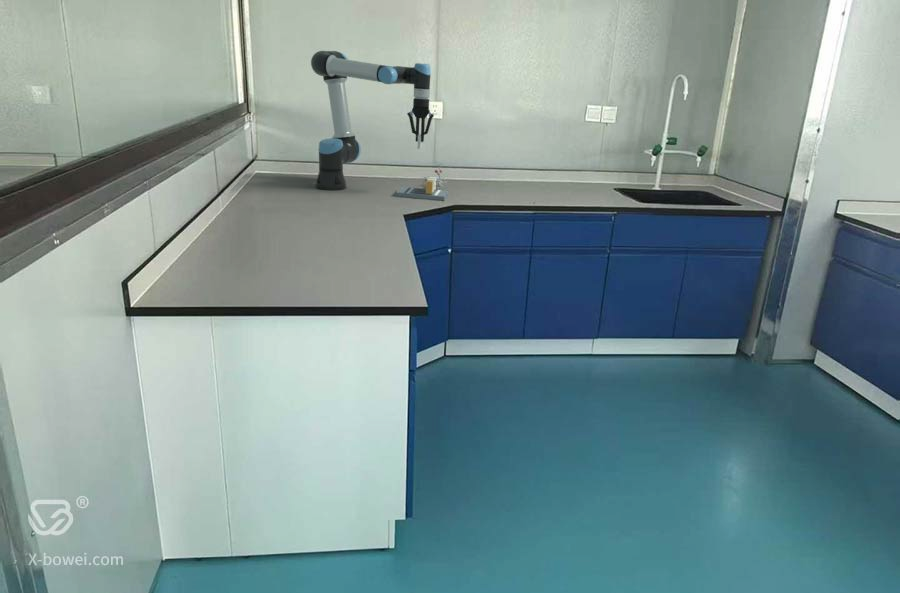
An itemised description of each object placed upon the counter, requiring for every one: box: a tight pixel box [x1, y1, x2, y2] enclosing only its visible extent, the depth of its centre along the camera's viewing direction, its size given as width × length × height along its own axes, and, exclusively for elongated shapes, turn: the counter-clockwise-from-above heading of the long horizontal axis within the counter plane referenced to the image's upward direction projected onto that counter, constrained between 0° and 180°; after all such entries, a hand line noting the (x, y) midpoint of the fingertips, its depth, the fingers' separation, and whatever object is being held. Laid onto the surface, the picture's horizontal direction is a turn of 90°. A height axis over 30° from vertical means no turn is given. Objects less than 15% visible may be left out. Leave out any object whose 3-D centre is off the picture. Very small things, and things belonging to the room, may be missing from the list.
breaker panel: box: [395, 176, 449, 202], centre depth 311 cm, size 24×14×8 cm, turn 82°
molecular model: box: [422, 167, 447, 188], centre depth 328 cm, size 19×10×10 cm, turn 154°
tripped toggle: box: [425, 180, 433, 194], centre depth 306 cm, size 3×3×6 cm
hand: (419, 148), depth 307 cm, fingers closed
